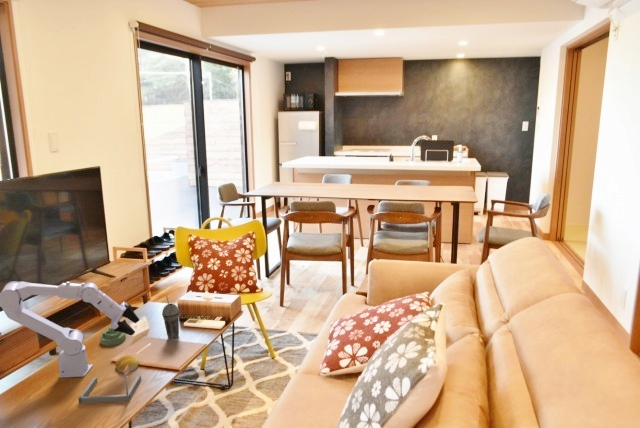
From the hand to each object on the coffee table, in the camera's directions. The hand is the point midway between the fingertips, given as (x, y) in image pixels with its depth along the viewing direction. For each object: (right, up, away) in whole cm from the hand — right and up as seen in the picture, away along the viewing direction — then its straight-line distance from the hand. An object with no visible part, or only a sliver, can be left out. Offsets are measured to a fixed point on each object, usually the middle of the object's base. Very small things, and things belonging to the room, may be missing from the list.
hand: (135, 327), depth 188 cm
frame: (-1, -18, -18) cm, 26 cm away
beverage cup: (+9, -9, +21) cm, 24 cm away
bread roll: (-2, -15, -2) cm, 16 cm away
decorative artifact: (-17, -11, +20) cm, 28 cm away
